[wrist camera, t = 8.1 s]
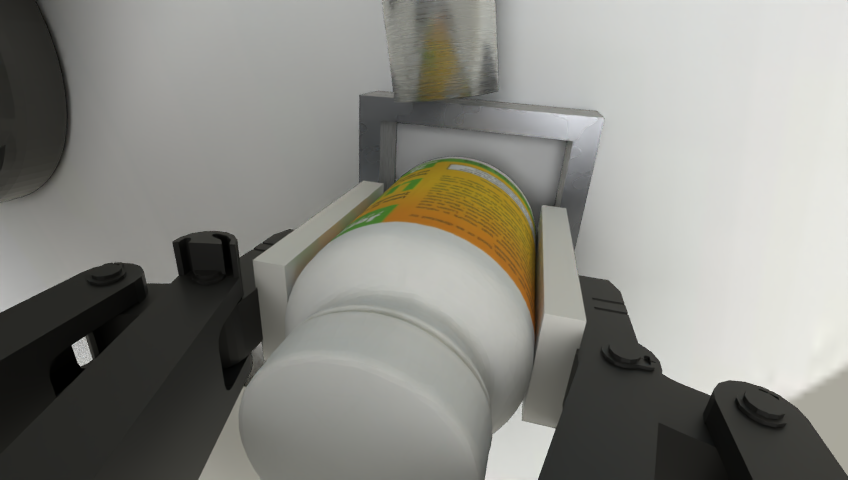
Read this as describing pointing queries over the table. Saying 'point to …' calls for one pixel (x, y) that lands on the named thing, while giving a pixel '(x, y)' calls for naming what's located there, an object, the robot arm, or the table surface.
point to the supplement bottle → (403, 336)
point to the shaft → (441, 48)
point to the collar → (489, 117)
